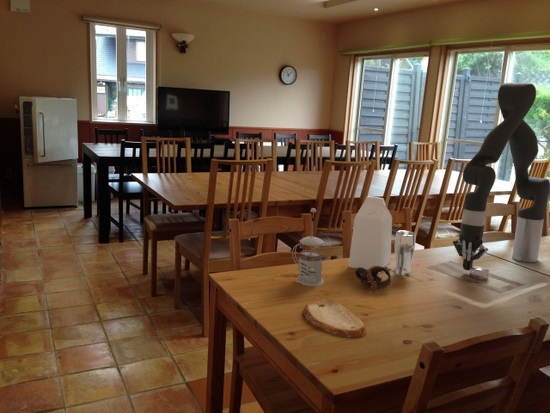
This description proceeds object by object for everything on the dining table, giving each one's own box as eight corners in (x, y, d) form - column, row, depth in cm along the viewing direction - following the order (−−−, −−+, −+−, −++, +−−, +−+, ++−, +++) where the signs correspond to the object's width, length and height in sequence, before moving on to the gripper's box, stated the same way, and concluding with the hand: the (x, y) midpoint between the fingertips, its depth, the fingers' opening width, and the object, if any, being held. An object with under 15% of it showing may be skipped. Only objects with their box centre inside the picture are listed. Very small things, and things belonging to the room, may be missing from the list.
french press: (315, 288, 158) (320, 213, 153) (285, 280, 164) (288, 207, 159) (329, 280, 166) (333, 207, 161) (299, 272, 172) (302, 203, 167)
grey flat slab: (450, 263, 189) (450, 260, 188) (524, 287, 166) (524, 284, 166) (425, 270, 180) (425, 267, 180) (500, 296, 157) (500, 292, 157)
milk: (390, 265, 184) (396, 197, 179) (379, 273, 175) (385, 202, 169) (360, 259, 191) (365, 193, 185) (348, 266, 181) (353, 197, 176)
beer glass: (410, 271, 179) (414, 231, 176) (413, 277, 172) (417, 236, 169) (391, 269, 179) (394, 230, 176) (393, 276, 172) (397, 235, 169)
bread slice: (366, 340, 125) (367, 326, 124) (296, 331, 129) (297, 318, 128) (367, 312, 142) (368, 300, 142) (306, 305, 146) (306, 293, 145)
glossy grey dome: (475, 273, 175) (476, 265, 174) (491, 278, 170) (492, 270, 170) (465, 276, 172) (466, 267, 171) (481, 281, 167) (482, 273, 166)
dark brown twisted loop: (388, 284, 166) (395, 268, 160) (382, 305, 159) (389, 289, 153) (355, 271, 168) (360, 255, 163) (347, 291, 161) (353, 275, 156)
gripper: (496, 225, 168) (490, 273, 171) (462, 217, 178) (457, 262, 182) (484, 227, 163) (477, 277, 167) (450, 219, 174) (444, 265, 177)
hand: (466, 269), depth 174 cm, fingers closed
